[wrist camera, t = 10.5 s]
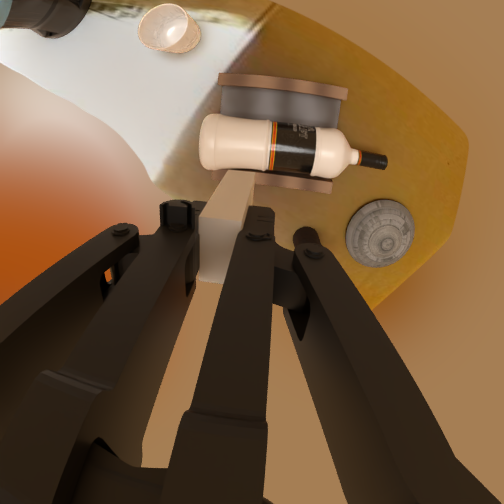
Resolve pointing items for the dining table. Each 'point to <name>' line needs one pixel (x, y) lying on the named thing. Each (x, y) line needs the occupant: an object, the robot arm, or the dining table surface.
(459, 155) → the dining table surface
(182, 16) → the white cup
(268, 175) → the u rest
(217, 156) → the vodka
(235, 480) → the robot arm
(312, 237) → the butter churn
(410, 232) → the flying saucer
